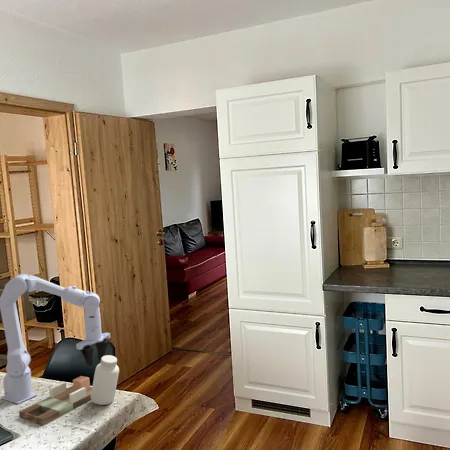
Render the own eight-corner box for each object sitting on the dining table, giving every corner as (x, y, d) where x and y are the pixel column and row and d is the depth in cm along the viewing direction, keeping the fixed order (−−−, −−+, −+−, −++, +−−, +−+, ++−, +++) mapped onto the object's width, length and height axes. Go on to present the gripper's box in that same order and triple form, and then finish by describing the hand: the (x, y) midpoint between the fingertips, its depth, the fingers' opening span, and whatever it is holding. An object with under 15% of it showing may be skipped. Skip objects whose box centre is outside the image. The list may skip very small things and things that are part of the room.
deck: (19, 417, 144) (19, 411, 144) (77, 388, 164) (77, 383, 164) (43, 425, 137) (42, 419, 137) (100, 395, 158) (100, 389, 157)
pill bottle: (108, 408, 148) (115, 366, 145) (86, 401, 149) (92, 360, 146) (117, 396, 156) (124, 356, 153) (96, 390, 156) (102, 350, 154)
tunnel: (49, 397, 153) (49, 388, 153) (64, 390, 158) (63, 381, 158) (72, 403, 147) (71, 394, 147) (86, 396, 152) (85, 387, 152)
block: (73, 390, 157) (72, 379, 157) (82, 386, 161) (81, 375, 160) (81, 393, 155) (80, 381, 155) (90, 388, 159) (89, 377, 158)
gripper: (85, 333, 154) (87, 371, 155) (115, 322, 167) (117, 357, 168) (71, 331, 158) (74, 368, 159) (102, 320, 170) (104, 355, 171)
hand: (95, 362), depth 163 cm, fingers open, 5 cm apart
